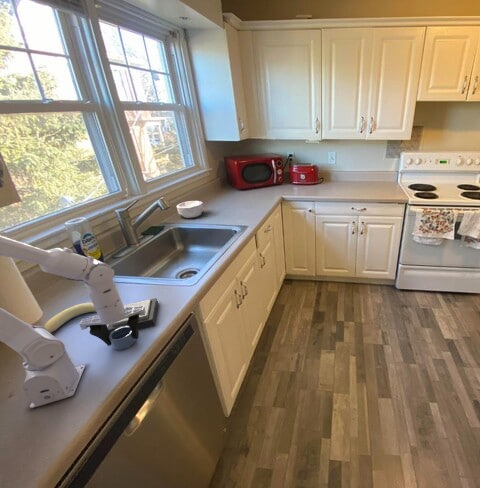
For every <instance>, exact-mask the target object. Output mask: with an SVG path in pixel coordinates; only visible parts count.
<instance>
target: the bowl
mask: <svg viewBox="0 0 480 488" xmlns="http://www.w3.org/2000/svg"><path fill="white" fill-rule="evenodd" d="M109 339H110V341H111V346H112V348H113V349H114V350H116V351H118V350H126V349H128V348H130V347H131V346H133V345H134V344H135V342H136V341H137V339H135V338H134V336H133V333H132V331H131V329H130V328H129V326H124V327H120V328H118V329H116V330H114V331H113V332H112V333H111V334H110V335H109Z"/></svg>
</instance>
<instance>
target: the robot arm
mask: <svg viewBox="0 0 480 488" xmlns="http://www.w3.org/2000/svg"><path fill="white" fill-rule="evenodd" d="M0 256H3V257H7V258H12V259H16V260H19V261H23V262H27V263H28V262H29V263H32V264H37V265H39V267H40V269H41V271H42V272H43V273H47V274H50V275H56V276H58V277H63V278H67V279H71V280H75V281H76V280H77V281H78V280H82V281H83V284H84V286H85V289H86V290H87V294H88V296H89V298H90V300H91V302H92V303H93V305H94V307H95V309H96V314H95V315H93V316H90V317H89V316H88V317H87V318H83V319H81V320H80V322H79V323H78V324H79V327H80V329H81V330H82V331H83V330H87V329H88V328H89V329H90V330H89V334H90V335H91V336H94V337H95V338H98V339H100V340H101V341H102V342H104V343H105V344H106V346H108V347H110V346H112V344H111V341H110V339H109V335H110V333H109V331H108V325H109V324H112V323H115V322H118V321H120V320H123V319H125V318H129V319H128V321H127V325H128V326H129V328H130V329H131V331H132V333H133V336H134V338H135V339H136V340H138V338H139V336H140V333H139V330H138V321H139V315H141V316H143V315H145V313H146V310H145V307H144V306H140V307H124V306H123V305H124V304H123V301H122V298H121V296H120V293H119V290H118V288H117V286H116V283H115V282H114V280H113V279H114V277H115V269H112V267H111V266H110V265H109V264H107V263H106V262H103V261H100V260H99V259H95V257H93V256H90V255H87V256H84V255H81V254H78V253H75V252H74V250H73V249H71V248H68V247H63V248H60V247H54V248H51V249H42V248H39V247H36V246H33V245H31V244H27V243H24V242H21V241H19V240H16V239H14V238H9V237H7V236H4V235H0ZM0 342H1V343H4V344H5V345H6V346H8V347H9V348H11V349H12V350H13V351H15V352H16V353H18V354H19V355H20V356H21V357H22V358H23V361H22V367H23V368H24V371H25V380H24V382H23V384H22V389H23V392H24V393H25V395H26V396H27V397H28V398H29V400H30V401H31V403H30V405H29V408H30V409H34V408H37V407H41V406H44V405H47V404H50V403H54V402H57V401H60V400H64V399H67V398H70V397H72V396H74V395H75V393H76V391H77V388H78V386H79V383H80V381H81V378H82V376H83V374H84V370H85V369H86V364H82V365H79V366H76V365H75V362H74V361H73V360H72V357H71V356H70V353H68V350H67V349H66V346H65V343H64V342H63V341H62V340H60V339H58V338H57V337H55V336H54V335H53V334H52V333H49V331H48V330H47V329H46V328H44V326H41V325H32V324H30V323H28V322H27V321H25V320H22V319H20V318H19V317H17V316H16V315H14V314H12V313H11V312H9V311H7V310H6V309H4V308H2V307H1V306H0Z"/></svg>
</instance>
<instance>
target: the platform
mask: <svg viewBox="0 0 480 488" xmlns="http://www.w3.org/2000/svg"><path fill="white" fill-rule="evenodd" d="M123 306H124V307H140V306H144V307H145V310H146V313H145V315H143V316H141V315H139V320H143V319H147V318H148V316H149V312H150V307H151V300H150V299H145V300H141V301H136V302H132V303H131V302H130V303H127V304H123ZM128 319H129V318H125V319H123V320H120V321H118V322H115V323H113V326H118V325H122V324H126V323H127V321H128Z"/></svg>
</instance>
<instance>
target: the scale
mask: <svg viewBox="0 0 480 488" xmlns="http://www.w3.org/2000/svg"><path fill="white" fill-rule="evenodd" d="M149 300H151V307H150V312H149V316H148V318H147V319H143V320H139V321H138V331H139V330H143V329H146V328H150V327H155V325H156V320H157V314H158V308H159V301H158V299H157V297H156V298H150V299H149ZM124 326H128V325H127V323H126V324H122V325H118V326H113V323H112V324H108V325H107V328H108V331H109V333H110V334H111V333H112V332H113V331H114V330H116V329H118V328H120V327H124Z"/></svg>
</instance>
